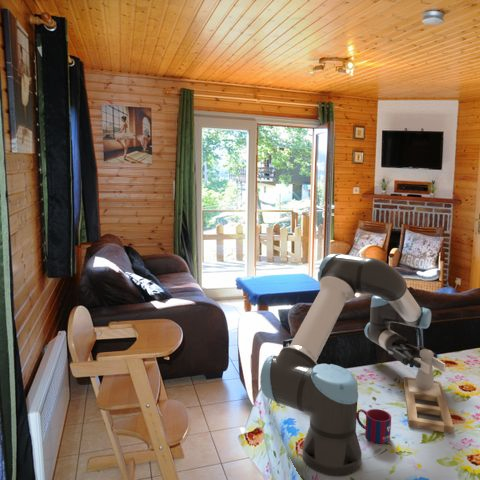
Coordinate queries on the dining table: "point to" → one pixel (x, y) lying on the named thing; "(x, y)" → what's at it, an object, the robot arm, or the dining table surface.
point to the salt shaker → (422, 378)
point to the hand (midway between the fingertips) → (436, 368)
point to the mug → (376, 425)
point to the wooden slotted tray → (427, 407)
